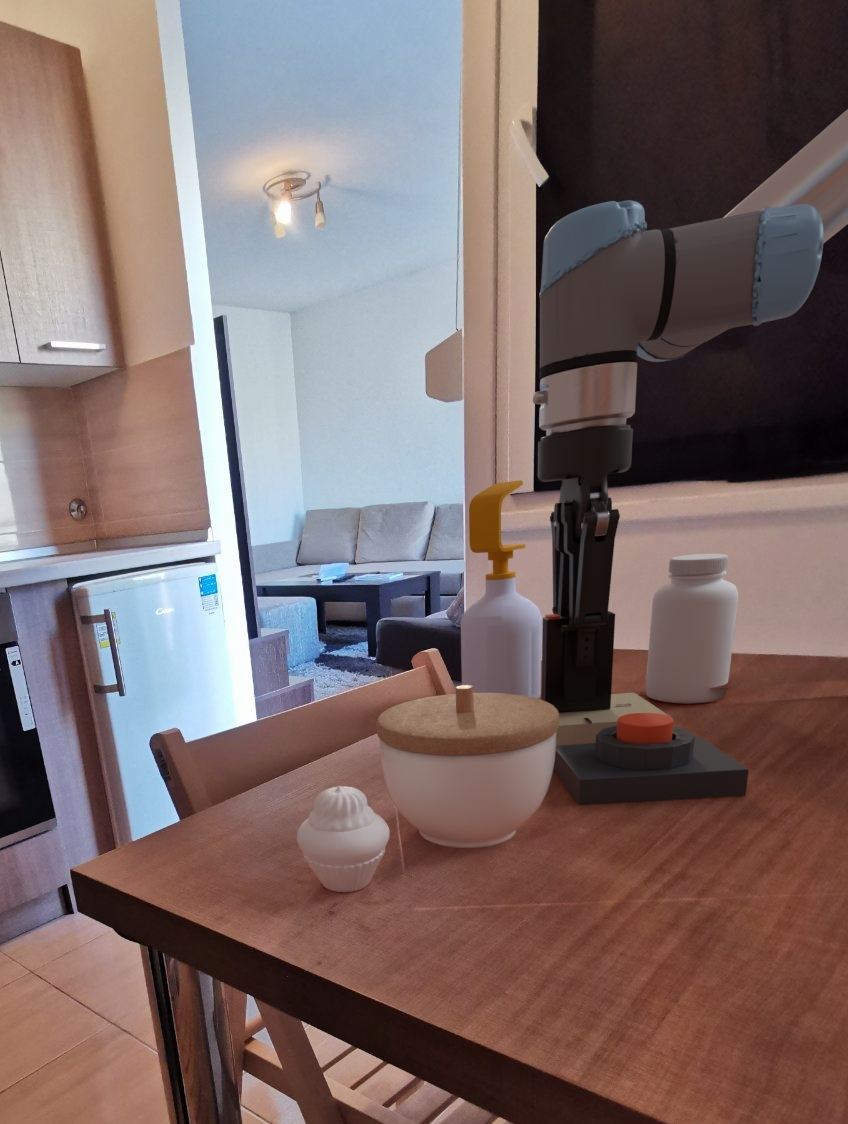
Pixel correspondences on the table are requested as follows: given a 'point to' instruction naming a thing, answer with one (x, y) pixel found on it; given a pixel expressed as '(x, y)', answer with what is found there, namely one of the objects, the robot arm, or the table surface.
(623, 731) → the button
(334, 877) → the muffin
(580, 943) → the table surface
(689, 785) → the switch block
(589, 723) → the plate
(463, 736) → the lidded bowl
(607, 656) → the black rectangular block
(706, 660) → the pill bottle
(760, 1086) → the table surface
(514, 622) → the soap bottle
